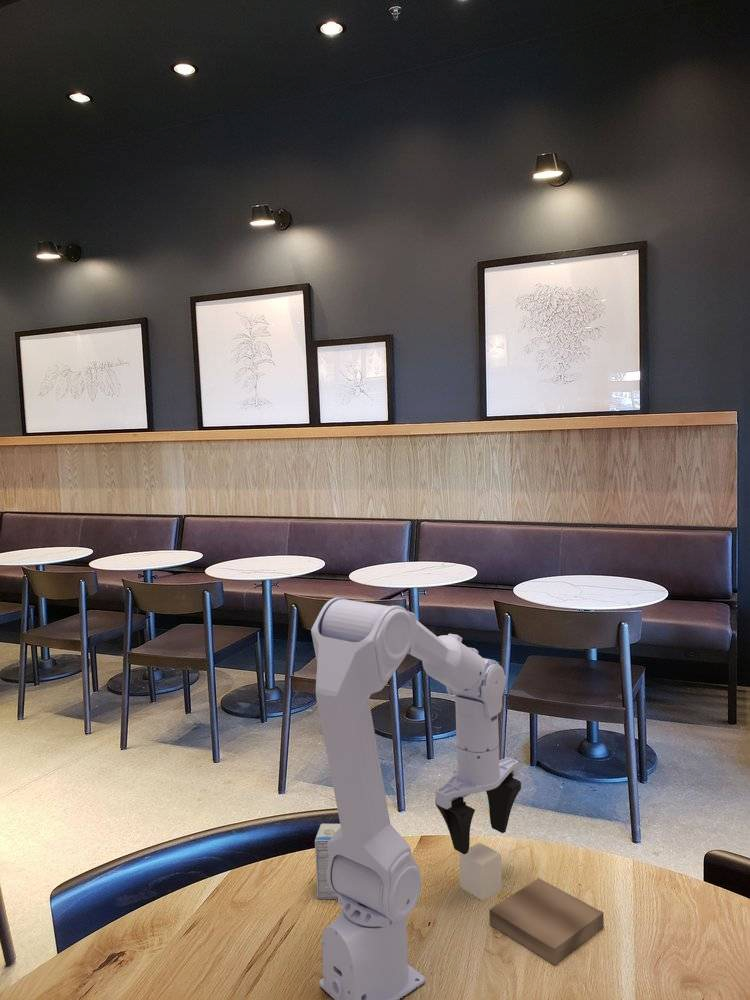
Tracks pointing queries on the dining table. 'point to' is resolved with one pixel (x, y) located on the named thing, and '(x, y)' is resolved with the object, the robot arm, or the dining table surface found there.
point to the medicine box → (324, 860)
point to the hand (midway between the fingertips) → (480, 840)
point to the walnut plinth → (546, 920)
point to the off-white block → (481, 871)
